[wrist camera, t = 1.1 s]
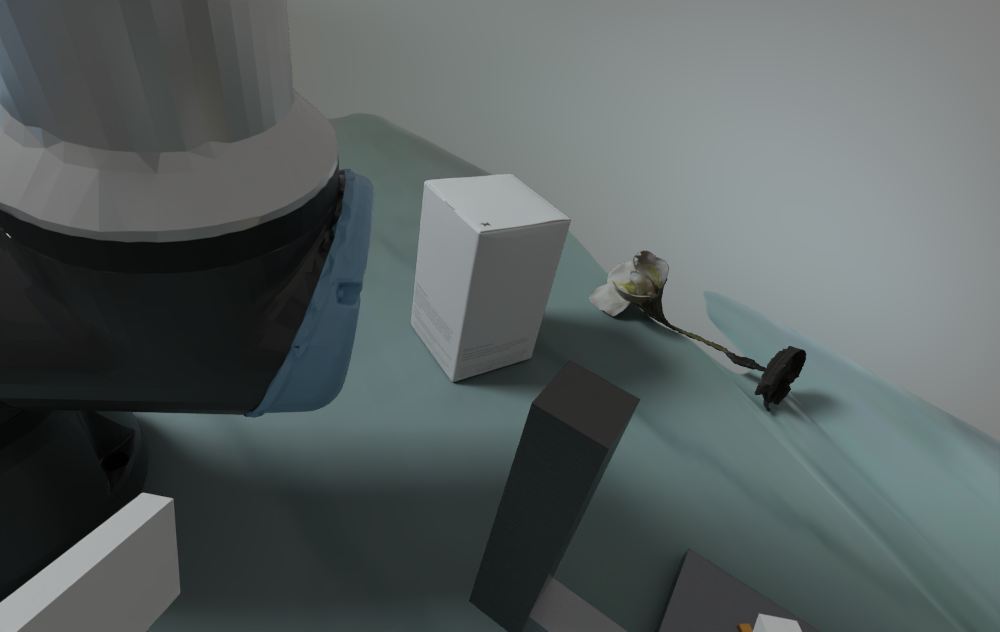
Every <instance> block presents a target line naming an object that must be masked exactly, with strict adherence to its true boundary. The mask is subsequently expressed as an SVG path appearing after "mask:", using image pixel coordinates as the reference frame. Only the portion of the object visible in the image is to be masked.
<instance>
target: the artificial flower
mask: <svg viewBox="0 0 1000 632" xmlns="http://www.w3.org/2000/svg"><path fill="white" fill-rule="evenodd" d="M639 253H641V254H640V255H637V254H639ZM639 253H637V254H636V255H635V256H634V257H637V258H638V260H637V262H635V261H634V258H633V261H630V262H627V263H624V264H619V265H618V266H617V267H615V268H614V269H613V270H612V271H611V272H610V274H609V275H608V280H607V284H605V285H603V286H601V287H598V288H597V289H596V290H595V291H594V292H593V293H591V294H590V295H591V296H590V298H589V300H590V301H591V302H592V304H594V305H595V306H597V307H598V308H599V309H600V310H603V311H605V312H606V313H608V314H609V315H611V316H616V315H617V314H618V313H620V312H622V311H624V309H626V308H627V306H628V305H629V303H632V304H633V305H636V306H638V307H640V308H641V309H642V310H643V311H644V313H645V314H646V315H648V316H649V317H652V318H654V319H655V320H657V321H659V322H661V323H663V324H664V325H665V326H667V327H669V328H671V329H672V330H676V331H678V332H679V333H681V334H685V335H686V336H688V337H690V338H693V339H697V340H698V341H702V342H704V343H706V344H707V345H709V346H712V347H714V348H715V349H717V350H719V351H723V352H724V353H725V354H726V355H727V356H728V357H729V358H730V359H731V360H732V362H733V363H735V364H738V365H740V366H743V367H747V368H750V369H757V370H759V371H764V373H763V375H762V376H761V377H762V382H761V384H760V383H759V385H758V386H757V389H756V391H755V395H761V394H762V395H763V398H764V406H765V408H766V410H768V411H770V408H768V405H769V403H770V402H773V403H774V404H777V405H778V404H779V403H780V401H782V399H783V398H784V397H786V395H787V394H788V393H789V391H790V390H791V388H790V386H789V385H790V384H791V383H793V382H794V380H795V379H796V378H797V377H799V374H800V372H801V370H802V367H803V366H804V362H805V360H806V357H805V356H806V352H805V350H802V349H798V348H794V347H791V346H789V347H788V349H783V350H782V351H779V352H778V353H777V354H776V355H775V357H774V358H772V359H771V361H770V362H769V363H768V365H767V369H766V368H765V367H762V366H760V365H759V364H757V363H756V362H755V360H752V359H749V358H747V357H739V356H736V355H735V354H734V353H731V352H729V351H728V350H727V349H726V348H724V347H722V346H720V345H718V344H715V343H713V342H709V341H706V340H705V339H703V338H701V337H700V336H697V335H694V334H692V333H687V332H686V331H683V330H681V329H679V328H676V327H675V326H672V325H670V323H668V321H667V320H666V319H665V317H664V314H663V311H662V303H661V299H662V294H663V288H664V285H665V283H666V281H667V275H668V270H669V266H668V264H667V262H666V261H665V260H663V259H660V258H658V257H656V256H655V255H653V254H652V253H651V252H649V251H641V252H639Z"/></svg>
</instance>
